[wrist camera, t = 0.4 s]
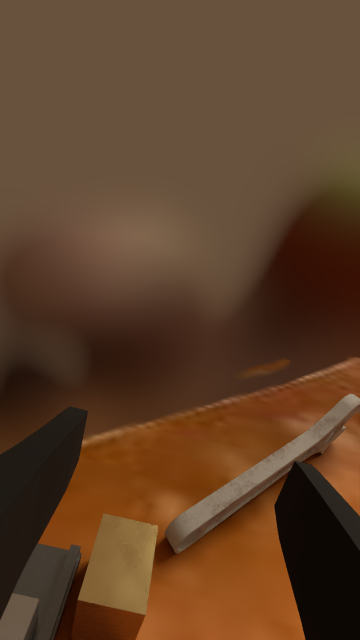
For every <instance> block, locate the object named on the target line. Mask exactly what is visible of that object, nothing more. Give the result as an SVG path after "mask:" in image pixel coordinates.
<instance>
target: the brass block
mask: <svg viewBox="0 0 360 640" xmlns="http://www.w3.org/2000/svg"><path fill="white" fill-rule="evenodd" d="M157 531H158V526H156V525H151V524H147V523H143V522H138V521H134V520H130V519H125V518H121V517H117V516H112V515H108V514H103V518H102V521H101V524H100V528H99V531H98V534H97V537H96V541H95V544H94V547H93V551H92V554H91V557H90V561H89V564H88V567H87V571H86V574H85V577H84V580H83V584H82V587H81V590H80V594H79V597H78V601H77V606H76V612H75V617H74V622H73V628H72V633H71V639H70V640H136V637H137V635H138V632H139V630H140V627H141V625H142V622H143V620H144V618H145V615H146V609H147V601H148V594H149V587H150V580H151V573H152V566H153V559H154V552H155V545H156V538H157Z"/></svg>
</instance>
